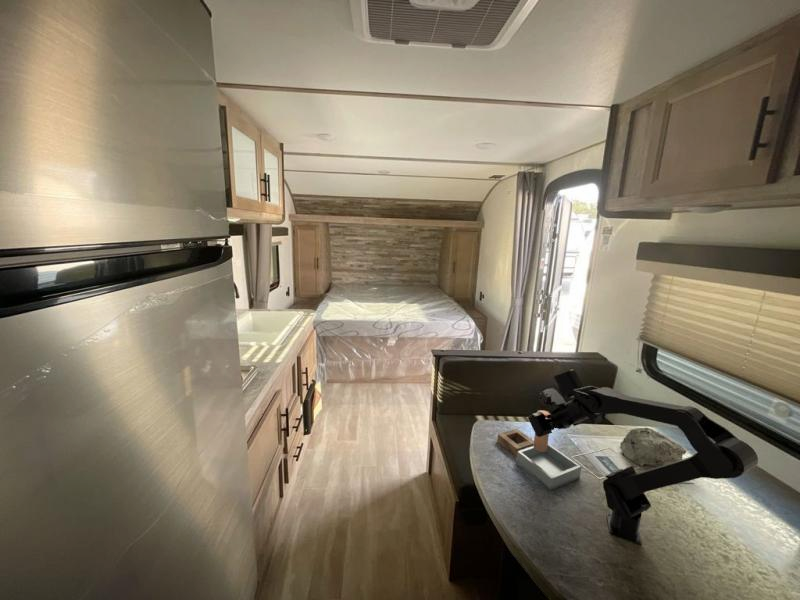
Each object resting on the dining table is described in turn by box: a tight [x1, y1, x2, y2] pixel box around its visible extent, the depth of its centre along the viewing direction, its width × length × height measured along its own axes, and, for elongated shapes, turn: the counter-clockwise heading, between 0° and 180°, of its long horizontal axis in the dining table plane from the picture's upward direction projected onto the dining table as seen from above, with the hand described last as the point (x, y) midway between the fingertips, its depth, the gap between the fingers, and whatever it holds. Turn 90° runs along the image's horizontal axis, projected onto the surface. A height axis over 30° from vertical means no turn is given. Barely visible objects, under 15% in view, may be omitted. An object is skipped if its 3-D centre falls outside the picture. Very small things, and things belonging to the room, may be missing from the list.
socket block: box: [497, 428, 534, 458], centre depth 112 cm, size 9×9×3 cm
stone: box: [619, 427, 687, 467], centre depth 106 cm, size 10×12×15 cm
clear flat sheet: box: [570, 447, 641, 480], centre depth 105 cm, size 11×1×18 cm
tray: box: [515, 443, 582, 491], centre depth 100 cm, size 13×13×4 cm
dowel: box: [533, 409, 551, 452], centre depth 101 cm, size 4×4×12 cm
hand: (538, 427), depth 102 cm, fingers closed on dowel, 4 cm apart
